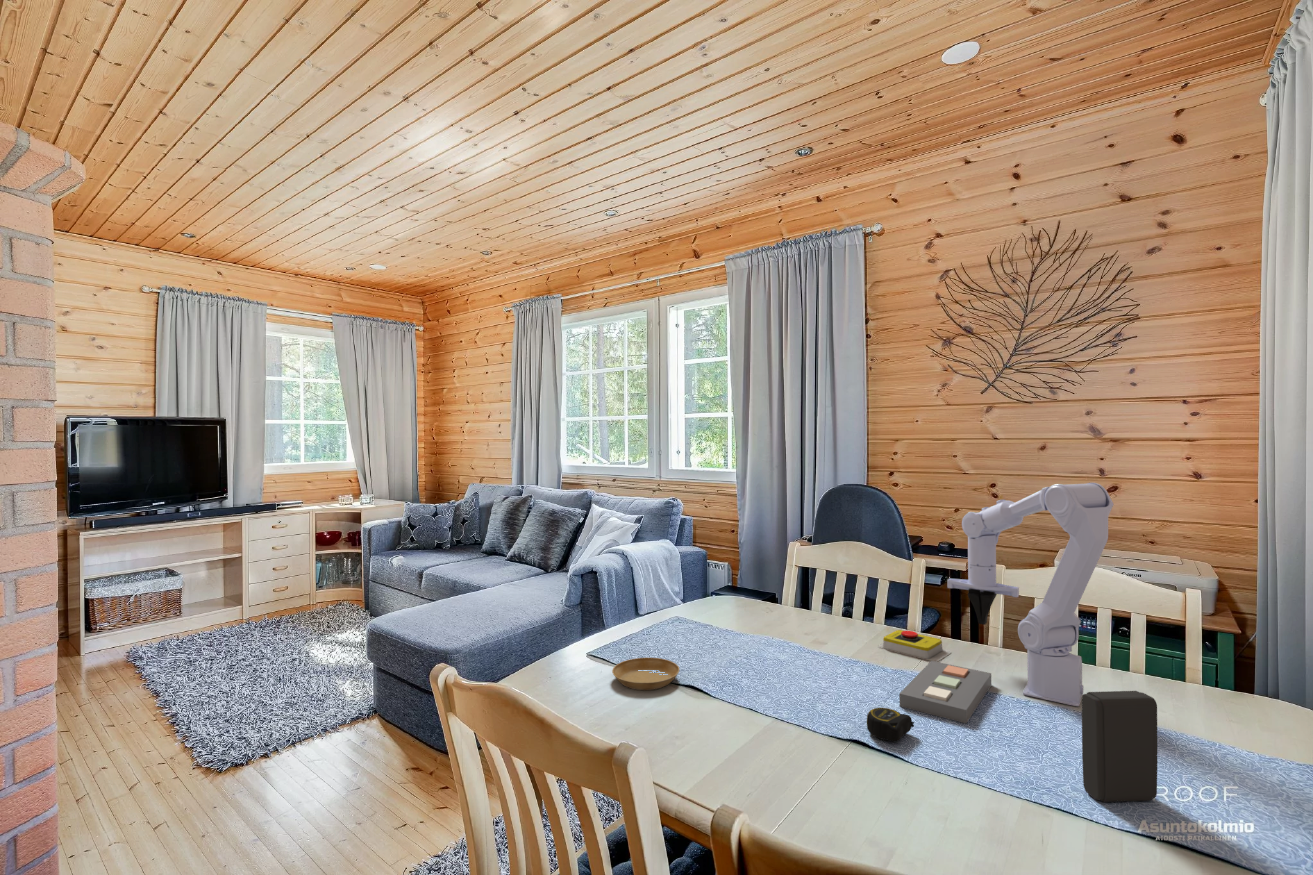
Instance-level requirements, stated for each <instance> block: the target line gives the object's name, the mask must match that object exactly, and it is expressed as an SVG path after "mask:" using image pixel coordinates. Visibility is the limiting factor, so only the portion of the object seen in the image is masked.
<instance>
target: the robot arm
mask: <svg viewBox="0 0 1313 875" xmlns="http://www.w3.org/2000/svg"><path fill="white" fill-rule="evenodd" d="M1114 506H1115V505H1114V502H1113V501H1112V498H1111V496H1110V494H1109V492H1108V491H1107V489H1106V488H1105V487H1104V486H1103V485H1102V484H1100V483H1097V482H1086V483H1074V484H1073V483H1072V484H1062V483H1055V484H1052V485H1050V486H1046V487H1042V488H1041V489H1040V490H1038V491H1037V492H1034V493H1033V494H1030V495H1028V496H1025V497H1024V498H1021V499H1020V500H1017V501H1015V502H1014V501H1012V500H1006V499H999V500H996V504H994V505H992V506H985V507H982V508H981V510H980V511H979V512H974V511H969V512H967V513H966V514H965V515H964V516H963V517H962V518H961V528H962V531H963V533H964V534H965V535H966V536H967V564H968V565H967V568H968V569H967V571H968V572H967V576H968V579H963V578H962V579H960V578H947V580H946V581H947V585H946V586H947V589H957V590H958V589H959V590H966V591H968V593H967V597H968V599H969V601H970V602H971V604H972V607H973V608H974V611H975V614H976V618H977V622H978V623H977V624H978V625H982V626H983V625H984V626H985V625H986V624H987V622H988V617H989V613H990V610H991V607H992V605H993V603H994V601H995V599H996V597H997V595H1003V596H1010V597H1012V598H1019V596H1020V587H1019V586H1014V585H1007V584H1003V583H999V582H998V583H997V544H998V542H999V537H1000V534H1002V532H1003V531H1006V530H1009V529H1013V528H1014V527H1017V526H1020V525H1021V524H1022V523H1023V520H1024V517H1028V516H1031V515H1034V514H1037V513H1040V512H1043V511H1048V512H1049V513H1050V514H1051V516H1052V517H1053V519H1055V522H1056V523H1058V525H1059V526H1060V527H1061V528H1062V529H1063V531H1064V533H1067V534H1068V536H1069V539H1068V542H1067V544H1066V546H1065V548H1064V551H1063V554H1062V556H1061V558H1060V560H1059V563H1058V565H1057V567H1056V570H1055V572H1054V574H1053V576H1052V578H1051V580H1050V583H1049V586H1048V588H1047V590H1046V593H1045V594H1044V597H1043V600H1042V602H1041V603H1038V605H1036V606H1035V607H1033V608H1032V609H1030V610H1029V611H1028V614H1027V616H1026V617H1025V618H1023V619H1021V620H1020V621H1019V623H1018V625H1017V626H1018V627H1017V634H1018V637H1019V638H1018V639H1019V640H1020V642H1021V643H1022V644H1023V646H1024V649H1026V650H1027V652H1026V653H1027V654H1026V655H1027V657H1026V658H1027V683H1026V684H1025V687H1024V688H1023V691H1022V694H1023V695H1024V696H1028V697H1033V698H1037V699H1041V700H1047V701H1050V702H1055V703H1059V704H1060V703H1061V704H1064V705H1069V706H1074V707H1080V706H1081V705H1080V704H1081V702H1082V696H1083V695H1084V685H1083V658H1082V656H1080V655H1077V654H1074V653H1072V651H1073V646H1075V645H1076V644H1077V643H1078V641H1079V633H1080V632H1079V628H1080V625H1081V622H1082V621H1081V620H1080V618H1079V616H1078V615H1077V614H1076V613H1075V612H1076V609H1077V608H1078V606H1079V603H1080V601H1081V599H1082V596H1083V595H1084V593H1085V590H1086V588H1087V586H1088V584H1089V582H1090V580H1091V578H1092V576H1093V573H1094V571H1095V568H1096V566H1097V564H1098V562H1099V560H1100V558H1101V556H1102V553H1103V552H1104V549H1105V547H1106V545H1107V543H1108V539H1109V516H1110V514H1111V511H1112V509H1113V507H1114Z"/></svg>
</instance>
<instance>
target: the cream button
mask: <svg viewBox="0 0 1313 875" xmlns="http://www.w3.org/2000/svg"><path fill="white" fill-rule="evenodd" d="M924 696H926V697H930V698H934V699H939V700H943V701H948V700H949V699H950V697H951V691H949V690H945V689H940V688H936V687H932V686H929V687H928V689H927V690H926V691H925V692H924Z"/></svg>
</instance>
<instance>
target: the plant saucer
mask: <svg viewBox="0 0 1313 875" xmlns="http://www.w3.org/2000/svg"><path fill="white" fill-rule="evenodd" d="M638 670H659V671H660V672H665V673H653V672H652V671H638ZM611 672H612V674H613V676H614V678H616V680H618V682H619V683H620V684H621V685H622V686H624V687H627V688H629V689H632V690H636V691H651V690H659V689H661V688H664V687H666V686H668V685H670V683H672V682H673V680H675V678H676V677H677V676H678V674H679V673H680V667H679V665H678V664H677V663H675V662H673V661H672V660H669V659H665V658H658V657H637V658H635V657H634V658H630V659H627V660H623V661H621V662H618V663H617V664H616V665H614V667H613V668H612V670H611ZM649 672H652V673H649ZM656 672H658V671H656ZM659 674H662V675H659ZM663 674H668V675H663Z"/></svg>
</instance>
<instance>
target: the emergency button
mask: <svg viewBox="0 0 1313 875" xmlns="http://www.w3.org/2000/svg"><path fill="white" fill-rule="evenodd" d="M882 640H883V641H882V642H881V643H880V644H878V645H877V648H879V649H881V650H885V651H891V652H895V653H897V654H902V655H906V656H909V657H915V658H918V659H923V660H926V661H929V662H931V661H935V662H940V661H941V660H943V659H944V658H946V657H948V656H949V655H951V654H952V652H951V650H948V649H947V650H946V649H943V641H942V639H941V638H938V637H932V636H928V635H924V634H920V633H918V632H915V631H912V630H902V629H897V630H895V631H893V632H890V633H888V634H887V635H885V636H883V639H882Z"/></svg>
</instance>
